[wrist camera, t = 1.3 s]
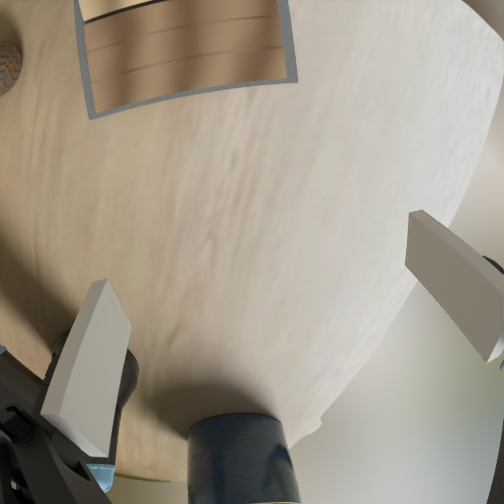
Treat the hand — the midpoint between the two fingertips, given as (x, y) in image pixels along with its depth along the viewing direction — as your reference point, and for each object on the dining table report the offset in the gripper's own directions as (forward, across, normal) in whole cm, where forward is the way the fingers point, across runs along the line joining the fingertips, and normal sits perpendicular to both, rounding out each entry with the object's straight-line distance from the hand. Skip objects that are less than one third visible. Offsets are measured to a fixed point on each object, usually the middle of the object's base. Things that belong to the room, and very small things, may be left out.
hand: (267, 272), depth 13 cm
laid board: (+22, -2, +13) cm, 25 cm away
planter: (+23, -12, -57) cm, 63 cm away
